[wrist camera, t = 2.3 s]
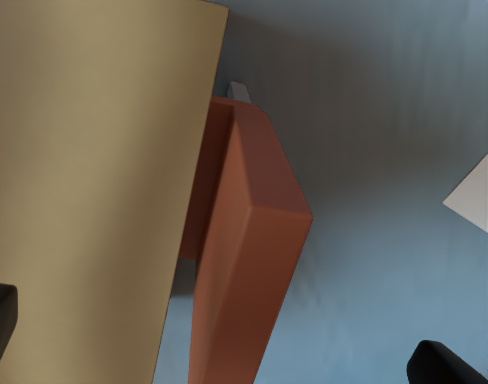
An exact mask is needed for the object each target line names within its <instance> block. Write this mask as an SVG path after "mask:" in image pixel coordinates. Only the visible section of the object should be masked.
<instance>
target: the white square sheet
mask: <svg viewBox="0 0 488 384" xmlns="http://www.w3.org/2000/svg"><path fill="white" fill-rule="evenodd" d="M442 203H443V204H444V205H446V206H447V207H449V208H450V209H452V210H453V211H455V212H456V213H458V214H460V215H461V216H463V217H464V218H466V219H467V220H469V221H470V222H472V223H473V224H475V225H476V226H478V227H480V228H481V229H483V230H484V231H486V232H487V233H488V154H487V155H486V156H485V158H484V159H483V160H482V161H481V162H480V163H479V164H478V165H477V166H476V167H475V168H474V169H473V170H472V171H471V172H470V174H469V175H468V176H467V177H466V178H465V179H464V180H463V181H462V182H461V183H460V184H459V185H458V186H457V187H456V189H455V190H454V191H453V192H452V193H451V194H450V195H449V196H448V197H447V198H446V199H445V200H444V201H443V202H442Z"/></svg>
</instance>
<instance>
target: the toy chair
mask: <svg viewBox="0 0 488 384" xmlns="http://www.w3.org/2000/svg"><path fill="white" fill-rule="evenodd" d="M227 96H228V98H225V97H221V96H216V95H212V98H211V102H210V107H209V112H208V117H207V122H206V127H205V131H204V136H203V141H202V146H201V151H200V155H199V160H198V165H197V170H196V175H195V180H194V184H193V189H192V194H191V199H190V204H189V209H188V213H187V218H186V223H185V228H184V233H183V238H182V242H181V247H180V252H179V257H178V258H184V259H191V260H196V272H195V287H194V301H193V316H192V330H191V345H190V359H189V374H188V384H253V382H254V380H255V377H256V374H257V371H258V369H259V366H260V363H261V361H262V358H263V355H264V352H265V350H266V347H267V344H268V341H269V339H270V336H271V333H272V330H273V328H274V325H275V322H276V319H277V317H278V314H279V311H280V308H281V306H282V303H283V300H284V298H285V295H286V292H287V289H288V287H289V284H290V281H291V278H292V276H293V273H294V270H295V267H296V265H297V262H298V259H299V256H300V254H301V251H302V248H303V246H304V243H305V240H306V237H307V235H308V232H309V229H310V226H311V224H312V221H313V215H312V213H311V211H310V209H309V206H308V204H307V202H306V200H305V197H304V195H303V193H302V191H301V188H300V186H299V184H298V182H297V180H296V177H295V175H294V173H293V171H292V168H291V166H290V164H289V162H288V160H287V157H286V155H285V153H284V151H283V148H282V146H281V144H280V142H279V139H278V137H277V135H276V133H275V131H274V128H273V126H272V124H271V122H270V119H269V117H268V115H267V113H266V112H262V111H260V108H259V106H258V105H256V104H252V103H251V101H250V98H249V95H248V92H247V89H246V86H245V85H244V84H241V83H237V82H233V81H231V82H230V85H229V89H228V94H227Z"/></svg>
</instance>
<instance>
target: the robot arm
mask: <svg viewBox="0 0 488 384" xmlns="http://www.w3.org/2000/svg"><path fill="white" fill-rule="evenodd" d="M17 320H18V290H17V287H16V286H15V285H11V284H4V283H0V361H1V359H2V356H3V354H4V352H5V350H6V347H7V345H8V343H9V341H10V338H11V336H12V334H13V332H14V329H15V327H16V324H17ZM407 376H408V380H409V384H488V380H487V379H486V378H485V377H483V376H482V375H481V374H480V373H478V372H477V371H476V370H475V369H473V368H472V367H471V366H470V365H468V364H467V363H466V362H465V361H463V360H462V359H461V358H460V357H458V356H457V355H456V354H455V353H453V352H452V351H451V350H450V349H448V348H447V347H446V346H445V345H443V344H442V343H440V342H437V341H430V340H423V341H421V342H420V343H419V344H418V346H417V348H416V349H415V351H414V353H413V355H412V356H411V358H410V360H409V362H408V364H407Z"/></svg>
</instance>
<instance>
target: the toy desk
mask: <svg viewBox="0 0 488 384" xmlns="http://www.w3.org/2000/svg"><path fill="white" fill-rule="evenodd" d="M229 11H230V9H229V8H228V7H227V6H223V5H220V4H216V3H212V2H208V1H205V0H0V283H4V284H11V285H15V286H16V287H17V290H18V320H17V324H16V327H15V329H14V332H13V334H12V336H11V338H10V341H9V343H8V345H7V347H6V350H5V352H4V354H3V356H2V359H1V361H0V384H152V382H153V377H154V373H155V368H156V363H157V358H158V353H159V348H160V344H161V339H162V334H163V329H164V324H165V320H166V315H167V310H168V305H169V300H170V295H171V291H172V286H173V281H174V276H175V271H176V266H177V262H178V257H179V252H180V247H181V242H182V238H183V233H184V228H185V223H186V218H187V213H188V209H189V204H190V199H191V194H192V189H193V184H194V180H195V175H196V170H197V165H198V160H199V155H200V151H201V146H202V141H203V136H204V131H205V127H206V122H207V117H208V112H209V107H210V102H211V98H212V93H213V88H214V83H215V78H216V73H217V69H218V64H219V59H220V54H221V49H222V45H223V40H224V35H225V30H226V25H227V20H228V16H229Z"/></svg>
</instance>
